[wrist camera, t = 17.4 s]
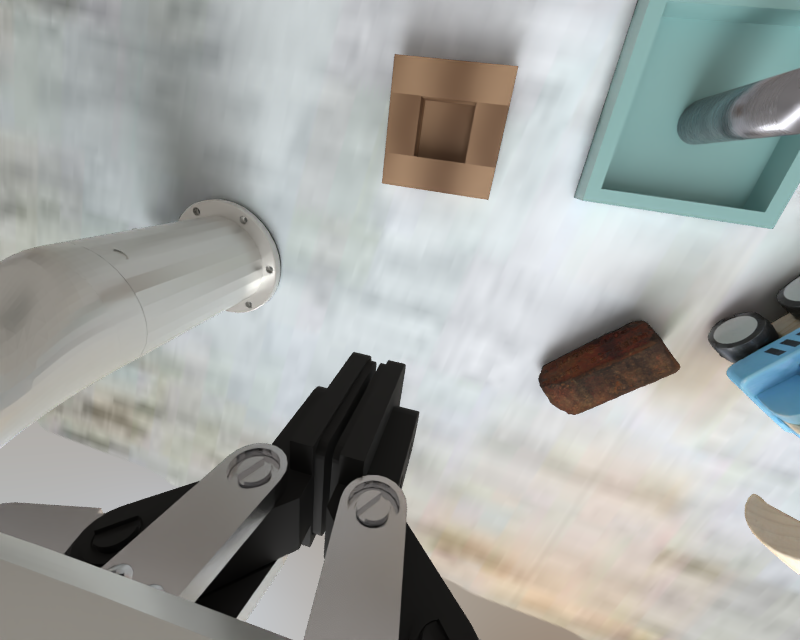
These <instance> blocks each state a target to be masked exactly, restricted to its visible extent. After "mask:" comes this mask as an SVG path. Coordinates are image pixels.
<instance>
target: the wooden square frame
mask: <svg viewBox="0 0 800 640" xmlns="http://www.w3.org/2000/svg"><path fill="white" fill-rule="evenodd" d="M517 70H518V66H510V65H500V64H489V63H479V62H469V61H459V60H449V59H438V58H428V57H418V56H408V55H397V54H395V56H394V67H393V77H392V87H391V97H390V107H389V117H388V127H387V138H386V148H385V158H384V168H383V178H382V183H384V184H390V185H396V186H403V187H409V188H416V189H422V190H429V191H435V192H441V193H448V194H454V195H461V196H467V197H473V198H480V199H486V200H488V199H489V194H490V190H491V185H492V181H493V177H494V172H495V168H496V163H497V159H498V154H499V150H500V145H501V141H502V136H503V132H504V128H505V123H506V119H507V114H508V110H509V105H510V101H511V96H512V92H513V87H514V83H515V79H516V74H517Z"/></svg>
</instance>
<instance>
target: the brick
mask: <svg viewBox="0 0 800 640" xmlns="http://www.w3.org/2000/svg"><path fill="white" fill-rule="evenodd" d="M679 369H680V364H679V363H678V362H677V361H676V359H675V358H674V357H673V355H672V354H671V353H670V351H669V350H668V348H667V347H666V345H665V344H664V343H663V341H662V340H661V338H660V337H659V336H658V334H657V333H656V332H655V331H654V330H653V329H652V328H651V327H650V325H649V324H648V323H646V322H644V321H642V320H641V321H634V322H631V323H630V324H628V325H625V326H623V327H622V328H620V329H618V330H617V331H614V332H611V333H609V334H605V335H603V336H601V337H599V338H598V339H595V340H593V341H592V342H589V343H587V344H585V345H584V346H582V347H580V348H578V349H576V350H574V351H572V352H570V353H568V354H566V355H564V356H562V357H560V358H558V359H556V360H554V361H552V362H550V363H548V364H546V365H544V366H543V367H542V370H541V373H540V375H539V378H538V379H539V383H540V387H541V388H542V390H543V392H544V393H545V394H546V396H547V397H548V399H549V401H550V403H552V404H553V405H554V406H556V407H557V408H558V409H560V410H563V411H565V412H567V413H568V414H573V415H576V414H579V413H582V412H584V411H586V410H589V409H592V408H594V407H596V406H598V405H601V404H603V403H605V402H607V401H610V400H612V399H615V398H617V397H619V396H621V395H624V394H626V393H628V392H631V391H633V390H635V389H638V388H640V387H643V386H645V385H648V384H650V383H653V382H656V381H658V380H659V379H661V378H664V377H667V376H669V375H671V374H674V373H676V372H677V371H678V370H679Z"/></svg>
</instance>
